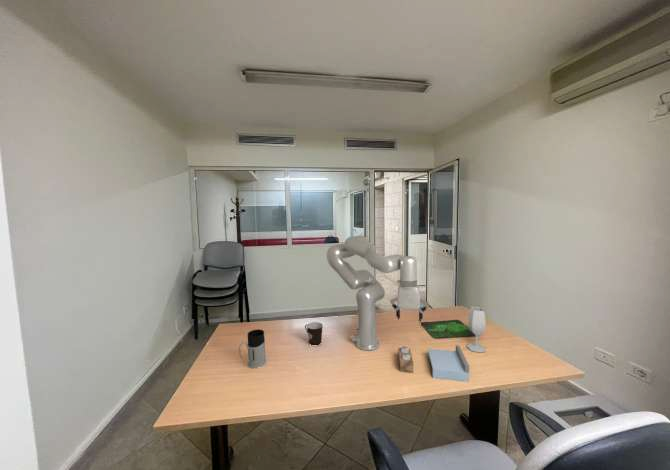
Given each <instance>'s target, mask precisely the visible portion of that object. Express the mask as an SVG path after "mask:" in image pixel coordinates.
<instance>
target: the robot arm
mask: <svg viewBox="0 0 670 470" xmlns="http://www.w3.org/2000/svg"><path fill="white" fill-rule="evenodd" d="M355 255H356V256H358V257H360V258H363V259H364V260H366V262H367V263H368V264H369V266H370V267H371V268H373V269H375V270H377V271H380V272H381V273H384V274H390V273H392V272H396V271H399V279H398V280H396V284H399V285H398V286H397V297H394V298H392V299H390V300H389V303H390V304H391V307H392V308H393V309H394V310H395V311H396V312H395V315H396V316H395V317H396V318H397V320H400V319H401V310H400V309H409V310H418V322H419V323H421V322H422V320H423V318H424V317H423V315H424V314H423V313H424V312H425V311H426V310H427V309H428V306H429V304H430V303H429V302H427V301H425V299H422V298H421V292H420V288H419V285H418V268H417V267H418V265H417V264H418V263H417V262H418V261H417V258H416V257H414V256H412V255H410V256H407V255H401V254H398V253H397V254H390V255H386V256H384V255H381V254H379V253H378V252H376V246H375V245H374V244H373V243H370V242H369V239H368V238H367V237H366V236H365V235H361V234H360V235H353V236H349V237H348V238H346V239H345V241H344V243H340V244H335V245H332V246H330V247H329V248H328V249H327V250H326V260H327V262H328V264H329V266H330V267H331V269H332V270H334V272H336V274H338V276H339V277H340V278H341V279H342V281H344V283H345V284H346V285H347V286H348V288H349V289H351V290H357V292H356V295H355V299H356V303H357V312H358V315H357V317H358V318H357V319H358V321H357V322H358V323H357V325H358V328H357V329H358V330H357V331H358V334H356V335H353V334H351V335H350V340H351V341H352V342H355V346H356V347H357V349H359V350H363V351H375V350H378V349H379V347H380V341H379V340H378V339H377V310H376V307H375V303H377V302H379V301H381V300H383V299H384V297H385V294H386V291H385V289H384V287H383V285H382V284H381V283H380V282H379V281H378V280H377V279H376V277H375V276H374V275H373V274H372V272H370V271H368V270H367V269H359V270H356V269H354V268H353V266H352V265H351V264H350V263H349V262H348V261H345V260H344V259H348V258H351V257H353V256H355ZM395 302H397V303H396V304H397V305H396V304H395ZM421 304H423V305H424V306H423V307H422V306H421Z"/></svg>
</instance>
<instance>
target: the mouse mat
mask: <svg viewBox="0 0 670 470" xmlns="http://www.w3.org/2000/svg"><path fill="white" fill-rule="evenodd" d="M420 323H421V325H420V327H422V328H423V329H424V330H425V331H426V333H428V335H429V336H430V337H431V338H432V339H435V340H445V339H457V338H470V337H475V334H474V333H473V332H472V331H471V330H470V329H469V325H467V324H465V323H464V322H463V321H462V320H460V319H449V320H437V321H421V322H420Z"/></svg>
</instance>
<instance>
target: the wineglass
mask: <svg viewBox="0 0 670 470" xmlns="http://www.w3.org/2000/svg"><path fill="white" fill-rule="evenodd" d="M467 322H468V323H467V324H468V325H467V326H468V327H469V329H470V330H471V331H472V332H473V333H474V334H475V336H474V342H469V343H467V344H466V347H467V349H468V350H470V351H471V352H475V353H486V347H485V346H484V345H483V344H481V343H479V336H480V335H481V334H484V333H485V330H486V325H487V324H486V322H487V319H486V312H485V309H484V308H482V307H478V306H471V307H470V310H469V313H468V321H467Z"/></svg>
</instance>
